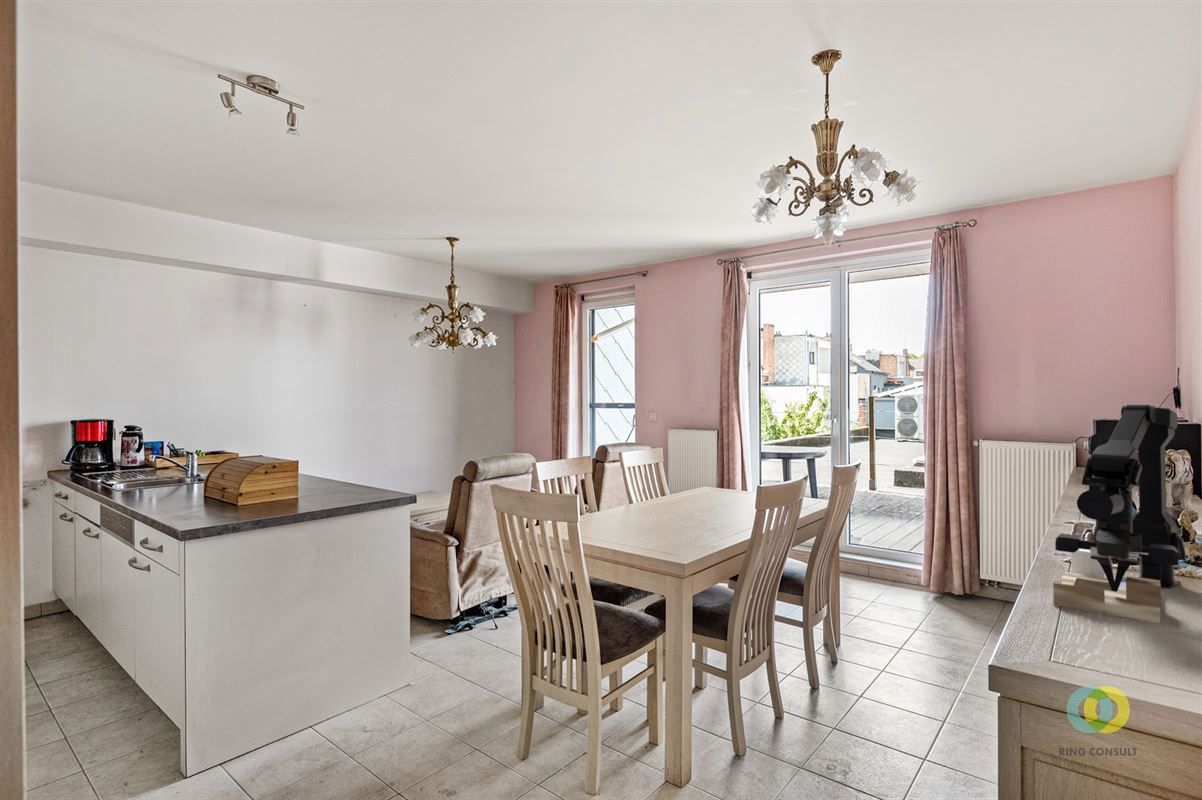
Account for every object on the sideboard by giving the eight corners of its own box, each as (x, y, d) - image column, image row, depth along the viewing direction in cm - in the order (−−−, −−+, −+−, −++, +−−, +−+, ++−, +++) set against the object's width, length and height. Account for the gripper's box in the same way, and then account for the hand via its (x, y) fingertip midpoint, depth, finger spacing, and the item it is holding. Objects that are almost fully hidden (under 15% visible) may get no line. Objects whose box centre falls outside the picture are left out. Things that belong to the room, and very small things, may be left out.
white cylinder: (1114, 584, 137) (1114, 553, 137) (1079, 582, 138) (1079, 552, 138) (1096, 575, 144) (1096, 546, 144) (1063, 574, 145) (1063, 545, 145)
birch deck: (1064, 580, 140) (1064, 561, 140) (1158, 594, 129) (1158, 573, 129) (1053, 605, 124) (1053, 583, 124) (1160, 623, 113) (1159, 599, 113)
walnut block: (1126, 595, 123) (1126, 575, 123) (1160, 600, 120) (1160, 580, 120) (1126, 601, 119) (1126, 581, 119) (1160, 607, 116) (1160, 586, 116)
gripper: (1051, 514, 123) (1052, 591, 123) (1178, 526, 111) (1179, 612, 111) (1057, 506, 131) (1058, 578, 131) (1176, 517, 119) (1177, 596, 119)
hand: (1114, 591), depth 123 cm, fingers closed
